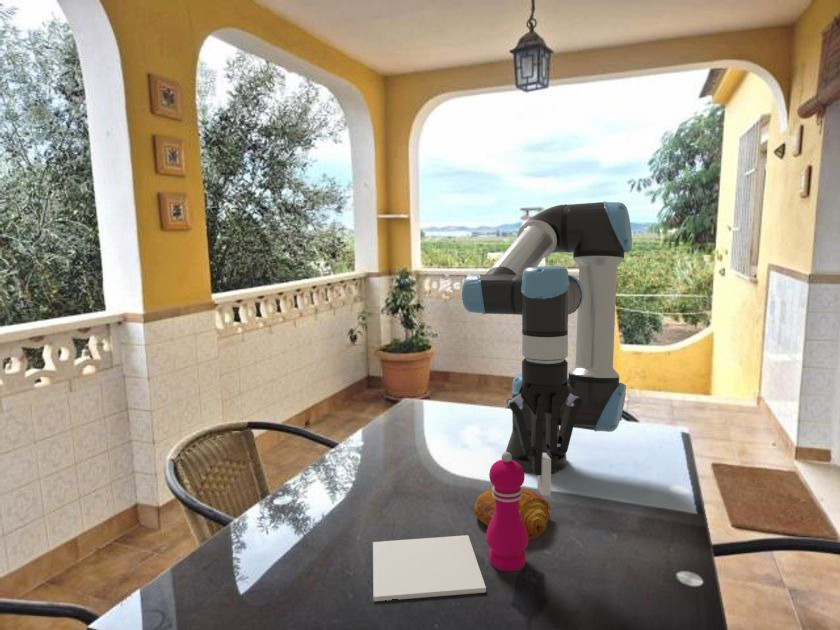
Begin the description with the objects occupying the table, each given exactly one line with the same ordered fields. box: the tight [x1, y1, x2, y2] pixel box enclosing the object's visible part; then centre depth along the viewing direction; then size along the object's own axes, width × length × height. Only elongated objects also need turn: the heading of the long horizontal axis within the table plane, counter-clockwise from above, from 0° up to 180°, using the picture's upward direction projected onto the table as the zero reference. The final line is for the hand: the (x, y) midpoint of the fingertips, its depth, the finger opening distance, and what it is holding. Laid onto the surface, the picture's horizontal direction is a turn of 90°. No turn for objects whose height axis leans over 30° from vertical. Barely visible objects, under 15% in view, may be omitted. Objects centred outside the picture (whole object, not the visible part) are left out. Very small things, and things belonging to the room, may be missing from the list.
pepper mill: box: [485, 451, 529, 572], centre depth 94 cm, size 7×7×20 cm
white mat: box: [372, 534, 487, 602], centre depth 94 cm, size 18×16×1 cm
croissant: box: [473, 487, 552, 541], centre depth 109 cm, size 14×16×8 cm
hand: (544, 491), depth 95 cm, fingers closed
